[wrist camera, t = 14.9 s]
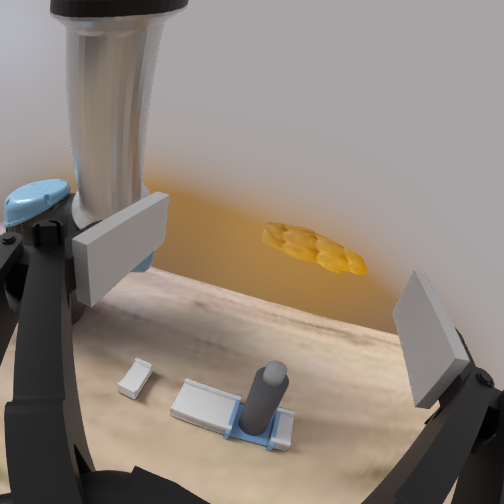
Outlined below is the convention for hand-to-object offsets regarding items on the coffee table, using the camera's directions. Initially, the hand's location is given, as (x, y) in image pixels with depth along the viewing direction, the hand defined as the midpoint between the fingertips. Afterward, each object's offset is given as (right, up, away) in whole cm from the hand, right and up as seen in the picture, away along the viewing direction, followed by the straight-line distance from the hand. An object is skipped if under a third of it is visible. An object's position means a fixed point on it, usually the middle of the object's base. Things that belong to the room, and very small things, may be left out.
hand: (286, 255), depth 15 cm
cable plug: (-2, -24, +23) cm, 34 cm away
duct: (-8, -22, +24) cm, 34 cm away
